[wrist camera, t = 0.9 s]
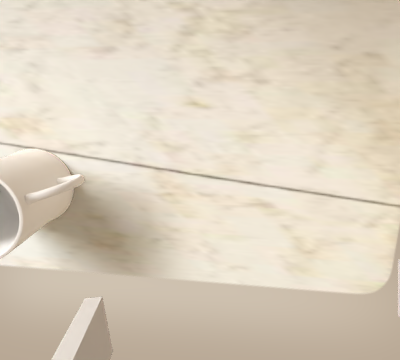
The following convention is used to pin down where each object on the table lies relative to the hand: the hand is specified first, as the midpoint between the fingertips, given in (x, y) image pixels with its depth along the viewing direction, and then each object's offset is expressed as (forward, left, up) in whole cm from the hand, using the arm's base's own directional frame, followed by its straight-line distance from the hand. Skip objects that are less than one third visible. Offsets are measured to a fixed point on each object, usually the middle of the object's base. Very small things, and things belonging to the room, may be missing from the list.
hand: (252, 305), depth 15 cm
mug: (-2, -18, -26) cm, 32 cm away
